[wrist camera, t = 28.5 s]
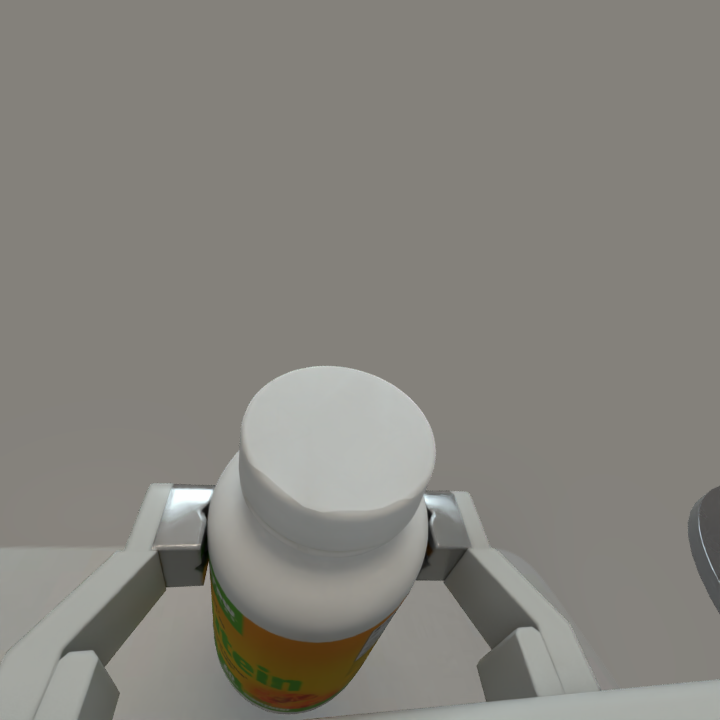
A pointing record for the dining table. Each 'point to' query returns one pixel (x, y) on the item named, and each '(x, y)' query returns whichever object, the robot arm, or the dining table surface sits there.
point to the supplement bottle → (316, 533)
